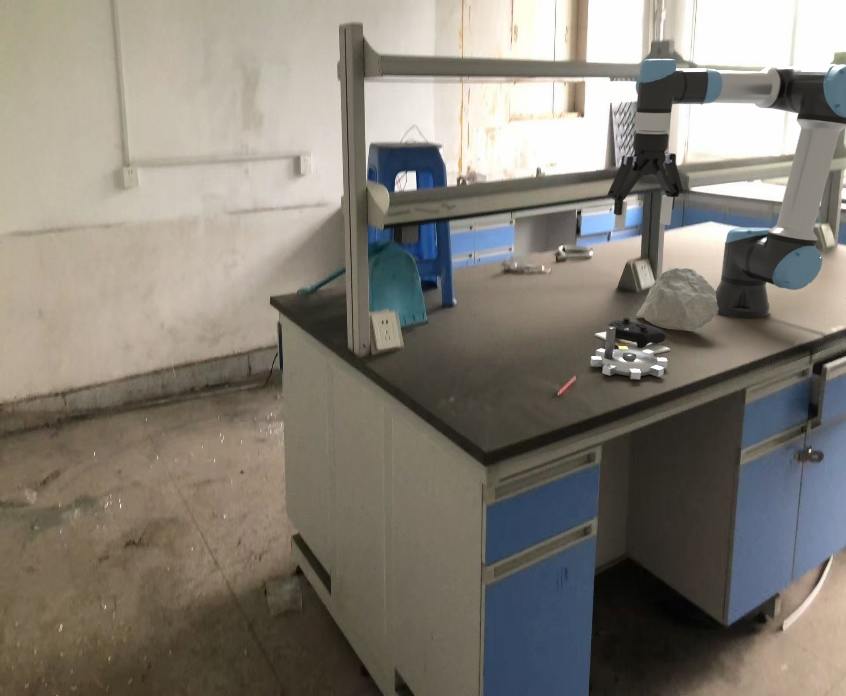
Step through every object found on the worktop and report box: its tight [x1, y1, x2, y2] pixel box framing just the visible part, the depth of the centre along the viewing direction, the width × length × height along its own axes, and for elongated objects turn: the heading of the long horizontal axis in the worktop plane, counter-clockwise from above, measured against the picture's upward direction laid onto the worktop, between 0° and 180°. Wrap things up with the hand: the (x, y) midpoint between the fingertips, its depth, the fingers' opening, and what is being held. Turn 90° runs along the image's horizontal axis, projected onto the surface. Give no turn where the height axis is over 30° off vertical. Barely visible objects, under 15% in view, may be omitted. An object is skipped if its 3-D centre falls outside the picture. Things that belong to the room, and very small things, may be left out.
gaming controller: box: [606, 317, 667, 348], centre depth 192 cm, size 14×6×10 cm
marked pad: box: [594, 331, 671, 355], centre depth 194 cm, size 9×17×1 cm, turn 26°
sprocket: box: [590, 326, 668, 380], centre depth 176 cm, size 17×17×9 cm
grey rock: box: [636, 266, 719, 332], centre depth 202 cm, size 22×13×15 cm, turn 31°
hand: (642, 226), depth 184 cm, fingers open, 13 cm apart
